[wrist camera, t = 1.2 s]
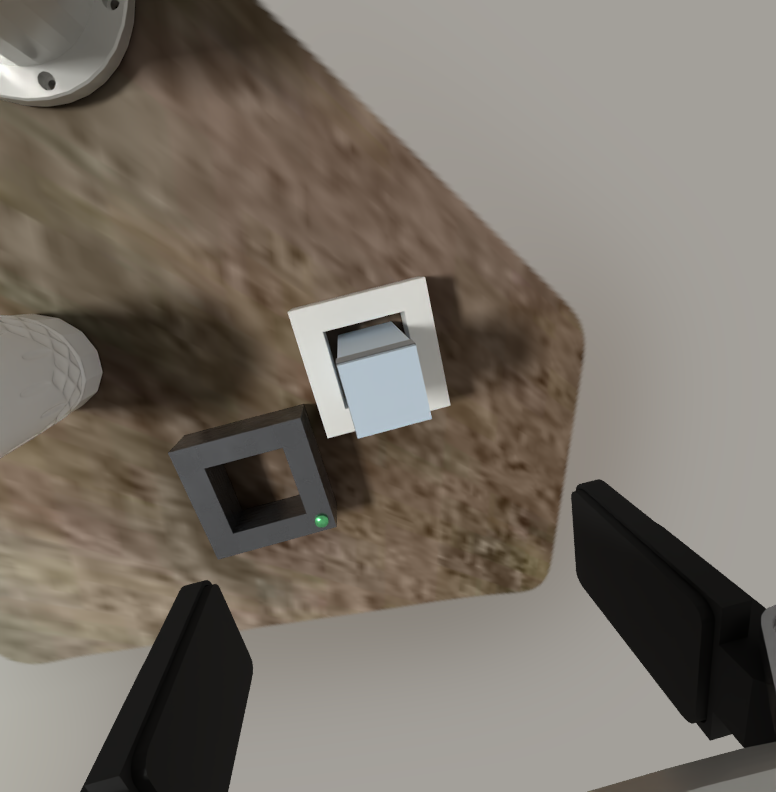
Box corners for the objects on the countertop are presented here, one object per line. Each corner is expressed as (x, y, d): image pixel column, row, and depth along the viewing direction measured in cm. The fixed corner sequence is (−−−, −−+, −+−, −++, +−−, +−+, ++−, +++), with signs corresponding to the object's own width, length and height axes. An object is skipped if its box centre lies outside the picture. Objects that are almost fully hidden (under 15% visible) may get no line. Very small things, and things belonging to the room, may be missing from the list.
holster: (292, 308, 28) (287, 311, 25) (418, 276, 28) (425, 277, 26) (328, 425, 31) (327, 438, 28) (442, 395, 31) (450, 405, 29)
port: (184, 435, 30) (166, 454, 27) (303, 403, 30) (299, 418, 27) (228, 534, 33) (217, 561, 29) (336, 504, 33) (336, 528, 30)
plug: (337, 334, 29) (335, 365, 19) (391, 320, 29) (416, 344, 19) (351, 386, 30) (357, 439, 21) (403, 373, 30) (432, 419, 21)
